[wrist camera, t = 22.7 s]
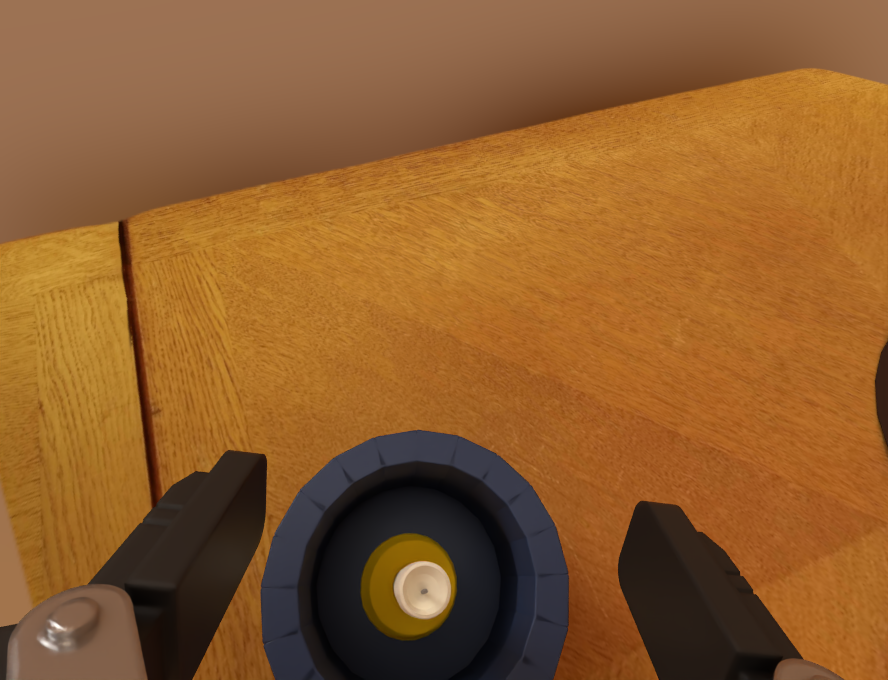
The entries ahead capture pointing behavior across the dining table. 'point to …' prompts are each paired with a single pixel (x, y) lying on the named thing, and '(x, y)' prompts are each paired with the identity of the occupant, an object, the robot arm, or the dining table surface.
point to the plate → (883, 391)
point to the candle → (408, 586)
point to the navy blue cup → (443, 520)
